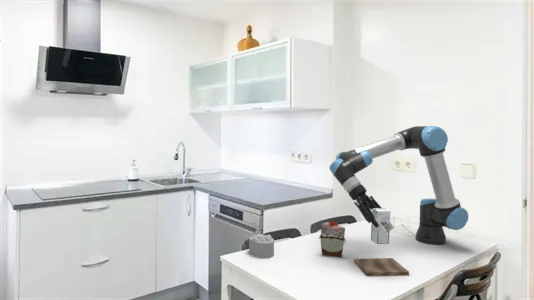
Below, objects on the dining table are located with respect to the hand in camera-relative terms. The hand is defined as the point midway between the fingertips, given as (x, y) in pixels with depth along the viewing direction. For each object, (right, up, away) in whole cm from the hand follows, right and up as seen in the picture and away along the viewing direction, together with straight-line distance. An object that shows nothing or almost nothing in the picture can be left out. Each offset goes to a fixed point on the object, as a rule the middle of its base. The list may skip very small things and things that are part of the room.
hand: (388, 231), depth 153 cm
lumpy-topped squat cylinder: (-53, -16, +20) cm, 59 cm away
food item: (-16, -15, +44) cm, 49 cm away
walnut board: (-2, -17, +3) cm, 17 cm away
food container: (-20, -16, +20) cm, 32 cm away
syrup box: (-3, -6, +3) cm, 7 cm away
